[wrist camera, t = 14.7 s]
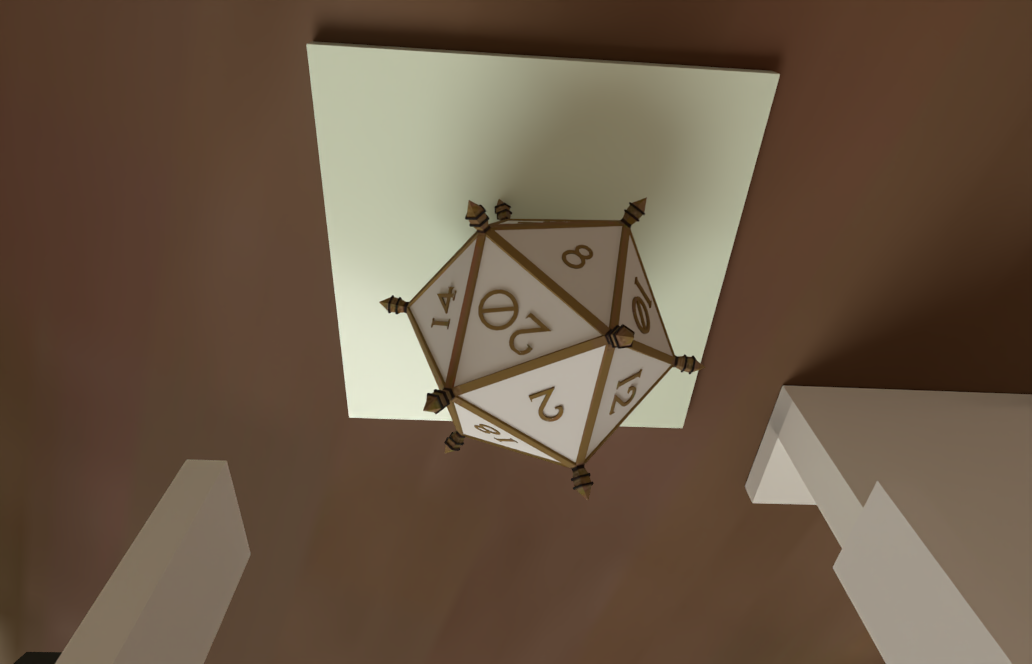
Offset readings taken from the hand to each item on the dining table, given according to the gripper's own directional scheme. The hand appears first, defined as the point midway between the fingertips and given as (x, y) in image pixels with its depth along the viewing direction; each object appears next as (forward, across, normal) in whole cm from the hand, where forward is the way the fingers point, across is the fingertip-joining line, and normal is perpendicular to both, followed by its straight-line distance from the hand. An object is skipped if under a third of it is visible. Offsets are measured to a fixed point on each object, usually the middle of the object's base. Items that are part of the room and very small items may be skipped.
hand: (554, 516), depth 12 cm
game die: (+11, 0, 0) cm, 11 cm away
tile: (+11, 0, 0) cm, 11 cm away
